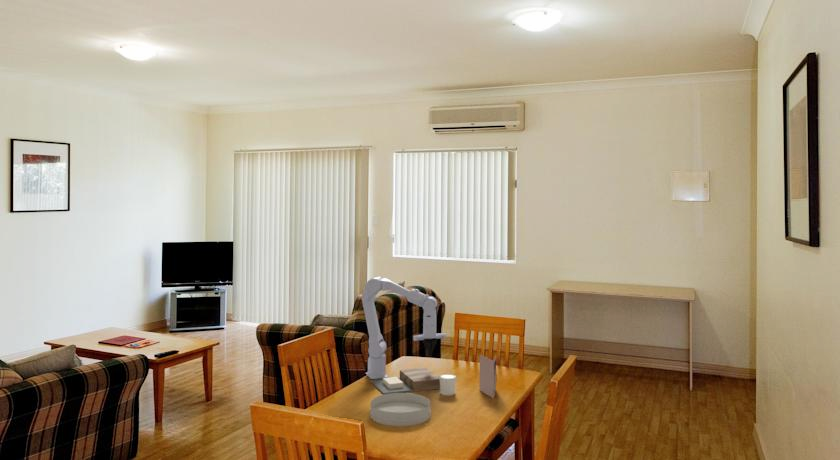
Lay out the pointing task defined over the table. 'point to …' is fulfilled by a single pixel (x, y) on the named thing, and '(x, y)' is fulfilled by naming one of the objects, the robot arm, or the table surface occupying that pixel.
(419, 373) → the platform
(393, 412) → the dish
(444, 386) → the white cup
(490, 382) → the greeting card
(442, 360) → the table surface
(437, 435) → the table surface
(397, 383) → the tile
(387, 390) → the mat
